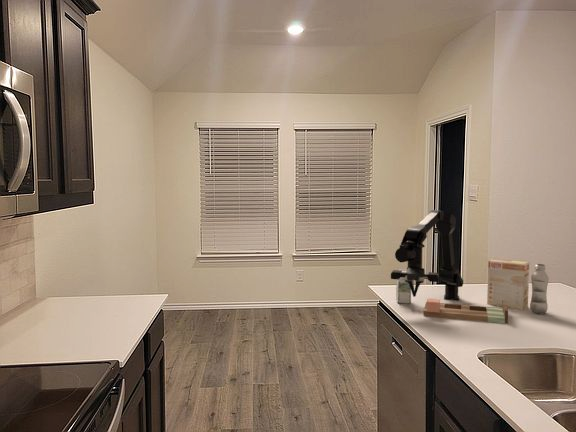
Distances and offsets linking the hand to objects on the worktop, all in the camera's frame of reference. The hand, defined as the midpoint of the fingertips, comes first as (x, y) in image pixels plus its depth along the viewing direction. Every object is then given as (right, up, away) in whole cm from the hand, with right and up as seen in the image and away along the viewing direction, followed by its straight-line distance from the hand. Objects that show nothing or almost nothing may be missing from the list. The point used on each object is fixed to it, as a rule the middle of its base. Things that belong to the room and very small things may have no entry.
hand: (414, 296), depth 194 cm
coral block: (+7, -5, -3) cm, 9 cm away
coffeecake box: (+43, -6, +10) cm, 45 cm away
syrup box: (0, -6, +17) cm, 18 cm away
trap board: (+19, -7, -2) cm, 20 cm away
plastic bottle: (+51, -7, -1) cm, 51 cm away
